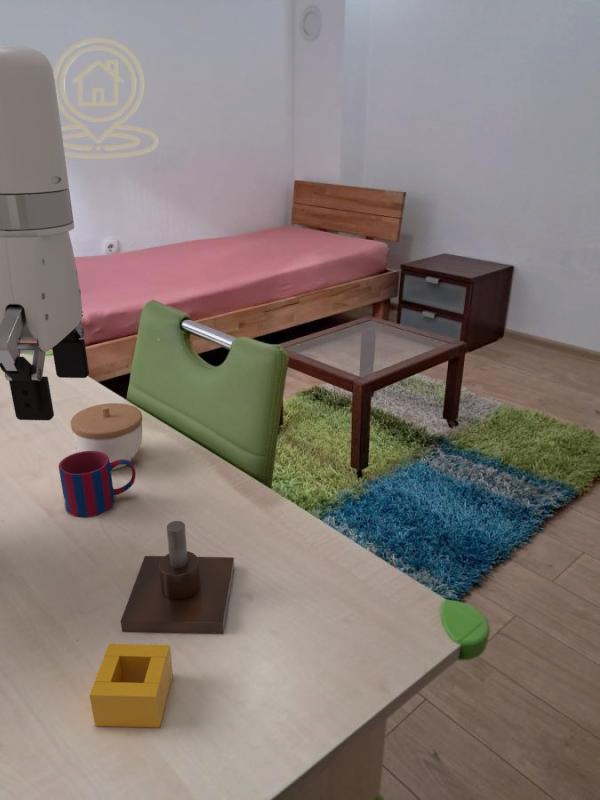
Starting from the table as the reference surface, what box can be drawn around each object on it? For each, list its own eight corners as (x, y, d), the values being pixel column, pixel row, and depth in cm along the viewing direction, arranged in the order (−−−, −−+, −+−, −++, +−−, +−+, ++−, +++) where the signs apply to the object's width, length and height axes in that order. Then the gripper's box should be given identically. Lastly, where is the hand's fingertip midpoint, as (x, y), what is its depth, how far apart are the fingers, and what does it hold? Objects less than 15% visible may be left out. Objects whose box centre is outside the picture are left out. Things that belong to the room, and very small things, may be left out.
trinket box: (159, 460, 102) (154, 407, 98) (99, 485, 95) (91, 430, 91) (123, 438, 109) (117, 388, 105) (64, 460, 101) (55, 407, 98)
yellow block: (94, 726, 58) (89, 695, 56) (113, 673, 63) (108, 643, 62) (160, 727, 58) (156, 696, 56) (172, 674, 63) (170, 644, 62)
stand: (121, 631, 68) (111, 557, 64) (145, 565, 78) (138, 497, 74) (223, 633, 68) (219, 559, 64) (234, 567, 78) (231, 498, 74)
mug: (69, 493, 93) (62, 452, 90) (139, 487, 95) (134, 447, 92) (61, 519, 87) (54, 476, 84) (136, 512, 89) (131, 470, 86)
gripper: (23, 198, 61) (50, 363, 69) (-75, 229, 46) (-27, 438, 53) (100, 200, 61) (119, 364, 69) (28, 230, 46) (62, 439, 53)
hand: (55, 396), depth 61 cm, fingers open, 9 cm apart
